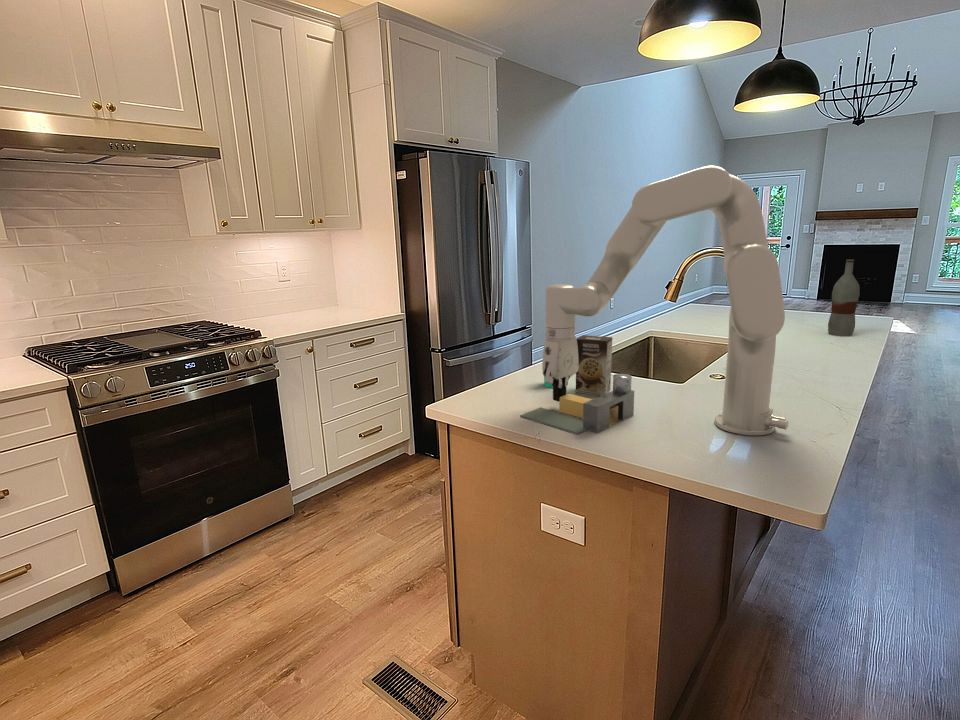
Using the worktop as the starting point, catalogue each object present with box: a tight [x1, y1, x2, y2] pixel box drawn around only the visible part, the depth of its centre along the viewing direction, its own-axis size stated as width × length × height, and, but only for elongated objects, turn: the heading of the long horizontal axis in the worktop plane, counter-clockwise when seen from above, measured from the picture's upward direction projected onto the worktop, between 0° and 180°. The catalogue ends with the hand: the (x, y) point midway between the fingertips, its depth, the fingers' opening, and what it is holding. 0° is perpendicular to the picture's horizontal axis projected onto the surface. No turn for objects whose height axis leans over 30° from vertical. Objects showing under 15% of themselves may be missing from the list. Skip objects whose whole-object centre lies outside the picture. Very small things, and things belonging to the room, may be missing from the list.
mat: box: [520, 407, 588, 435], centre depth 129 cm, size 18×8×1 cm, turn 43°
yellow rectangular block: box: [559, 393, 619, 426], centre depth 131 cm, size 15×4×4 cm, turn 43°
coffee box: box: [575, 334, 613, 396], centre depth 149 cm, size 9×6×16 cm
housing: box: [582, 373, 635, 434], centre depth 126 cm, size 4×16×10 cm, turn 134°
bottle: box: [827, 259, 861, 337], centre depth 207 cm, size 9×9×30 cm
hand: (559, 400), depth 137 cm, fingers closed
